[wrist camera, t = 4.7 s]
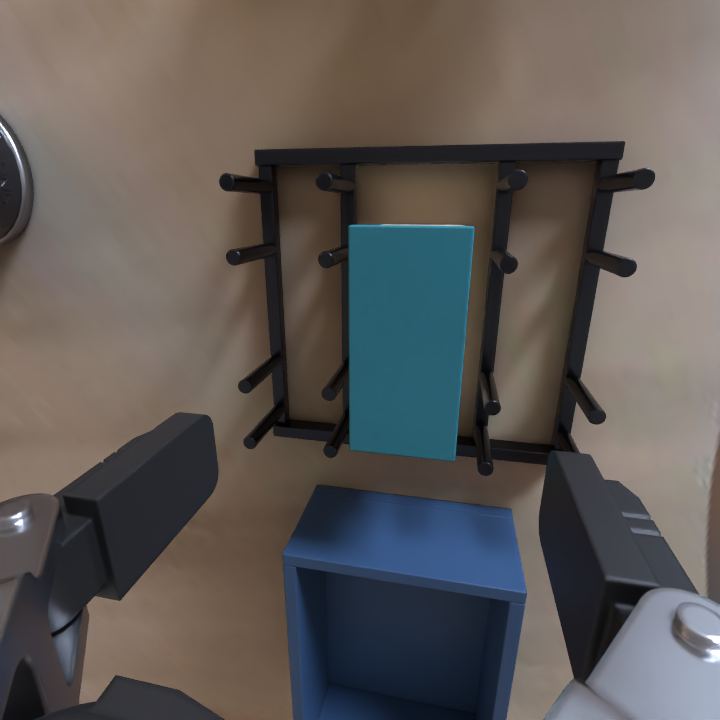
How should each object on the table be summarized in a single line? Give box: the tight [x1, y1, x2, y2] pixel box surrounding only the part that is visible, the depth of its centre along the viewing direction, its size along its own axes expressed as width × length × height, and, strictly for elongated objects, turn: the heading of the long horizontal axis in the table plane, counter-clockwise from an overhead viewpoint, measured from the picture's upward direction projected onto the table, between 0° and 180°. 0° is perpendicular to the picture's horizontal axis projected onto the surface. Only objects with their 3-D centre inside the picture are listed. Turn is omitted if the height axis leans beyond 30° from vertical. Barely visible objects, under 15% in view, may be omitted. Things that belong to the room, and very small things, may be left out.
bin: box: [282, 485, 527, 720], centre depth 31 cm, size 20×14×7 cm
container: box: [348, 224, 475, 461], centre depth 23 cm, size 5×10×8 cm, turn 0°
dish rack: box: [219, 141, 655, 476], centre depth 24 cm, size 19×18×6 cm
